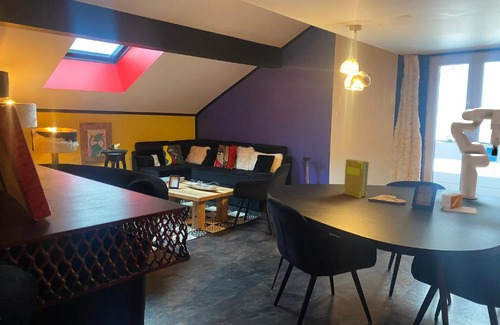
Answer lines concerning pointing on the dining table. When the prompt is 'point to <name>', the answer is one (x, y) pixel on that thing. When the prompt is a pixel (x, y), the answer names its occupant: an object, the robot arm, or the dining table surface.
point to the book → (356, 178)
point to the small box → (451, 200)
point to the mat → (462, 210)
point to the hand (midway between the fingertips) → (494, 155)
